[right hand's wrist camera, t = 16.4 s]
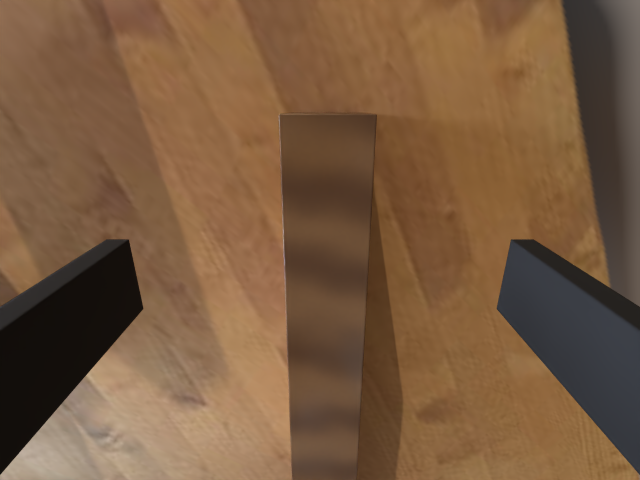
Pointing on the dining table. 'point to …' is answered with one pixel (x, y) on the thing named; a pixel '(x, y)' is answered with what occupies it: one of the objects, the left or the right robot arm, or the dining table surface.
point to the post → (326, 283)
